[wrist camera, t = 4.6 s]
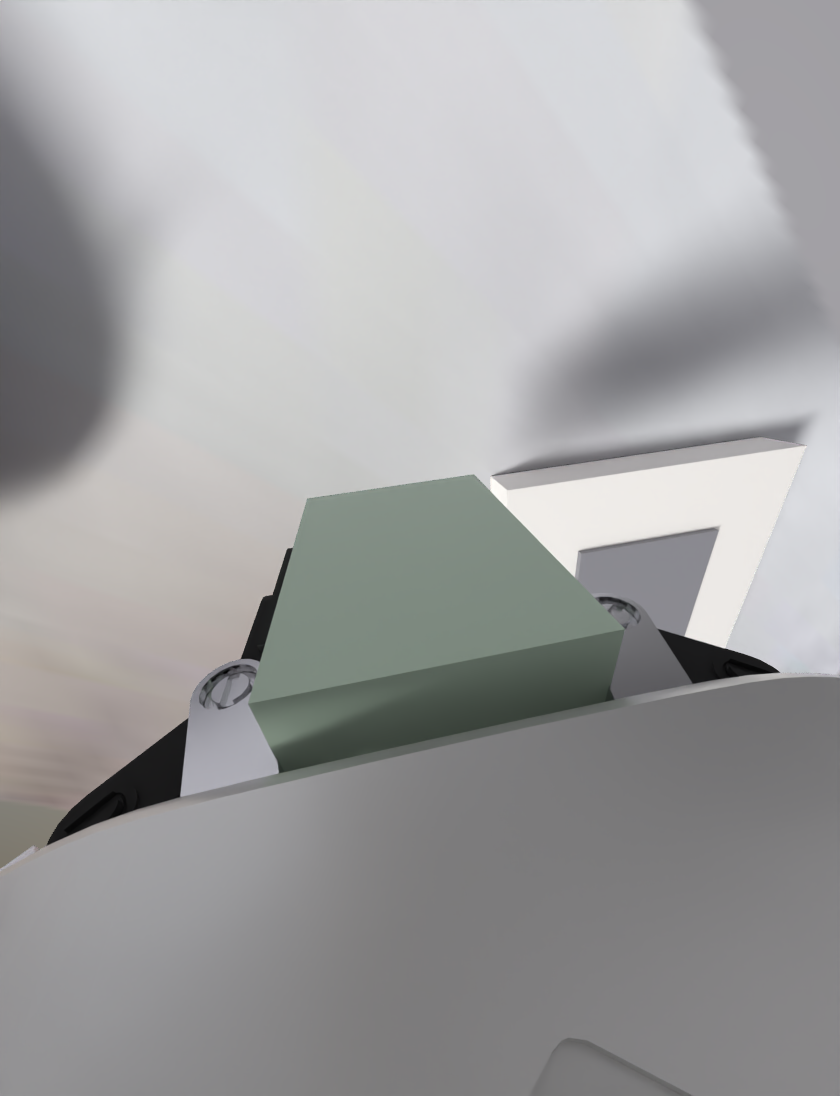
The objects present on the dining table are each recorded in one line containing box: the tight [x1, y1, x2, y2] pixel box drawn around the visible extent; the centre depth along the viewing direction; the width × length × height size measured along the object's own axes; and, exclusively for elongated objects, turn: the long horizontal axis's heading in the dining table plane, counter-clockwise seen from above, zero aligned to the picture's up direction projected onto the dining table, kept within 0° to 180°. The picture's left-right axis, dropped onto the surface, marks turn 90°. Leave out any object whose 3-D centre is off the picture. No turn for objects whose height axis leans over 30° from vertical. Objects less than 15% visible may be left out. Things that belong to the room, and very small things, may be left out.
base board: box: [491, 437, 807, 648], centre depth 28 cm, size 20×20×3 cm
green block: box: [248, 475, 625, 772], centre depth 9 cm, size 5×5×7 cm
